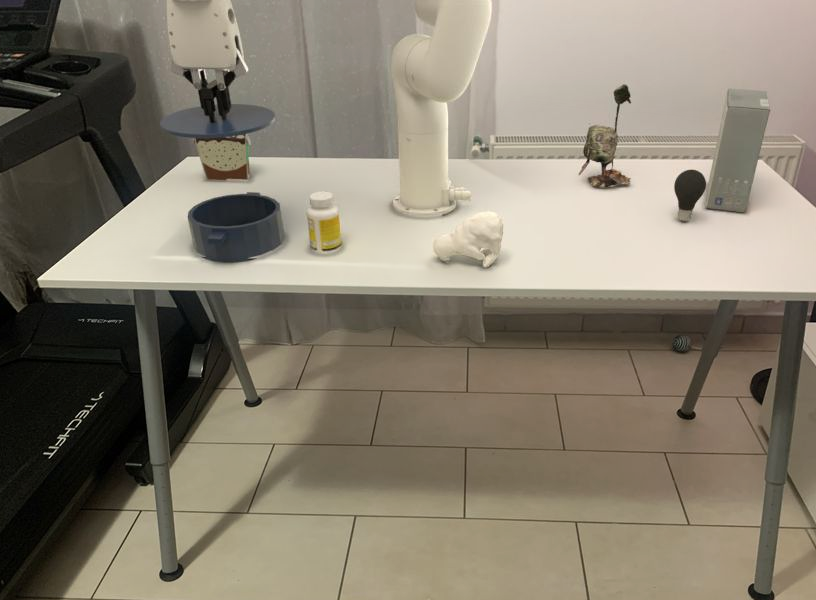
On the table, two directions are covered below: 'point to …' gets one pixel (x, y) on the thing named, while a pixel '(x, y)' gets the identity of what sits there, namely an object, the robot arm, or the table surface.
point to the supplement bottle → (323, 223)
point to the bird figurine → (605, 147)
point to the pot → (236, 227)
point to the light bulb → (688, 192)
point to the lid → (217, 119)
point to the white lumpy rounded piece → (473, 239)
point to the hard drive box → (737, 149)
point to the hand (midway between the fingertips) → (217, 113)
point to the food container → (224, 157)
